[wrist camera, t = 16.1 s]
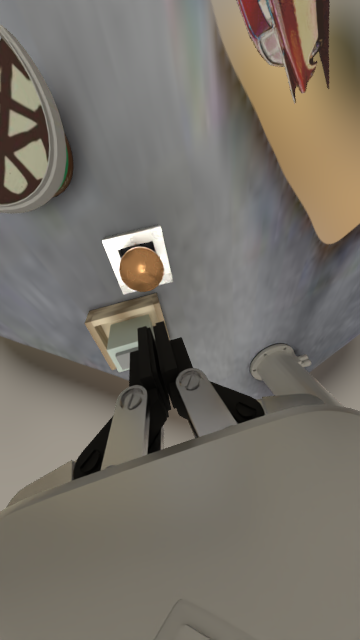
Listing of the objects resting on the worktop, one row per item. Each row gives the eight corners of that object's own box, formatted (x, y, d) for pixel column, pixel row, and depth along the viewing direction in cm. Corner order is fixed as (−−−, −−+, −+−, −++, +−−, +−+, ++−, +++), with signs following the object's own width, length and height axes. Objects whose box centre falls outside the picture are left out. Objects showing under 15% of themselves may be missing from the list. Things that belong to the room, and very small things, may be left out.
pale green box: (110, 324, 33) (105, 353, 27) (148, 314, 34) (152, 340, 27) (120, 345, 36) (118, 376, 30) (155, 335, 37) (161, 363, 30)
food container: (51, 232, 25) (12, 246, 17) (-3, 192, 22) (-82, 186, 14) (106, 152, 22) (92, 122, 14) (53, 93, 19) (-4, 10, 11)
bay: (156, 292, 33) (159, 302, 30) (169, 339, 39) (173, 351, 36) (89, 311, 32) (84, 323, 29) (113, 355, 38) (112, 370, 35)
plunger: (152, 235, 28) (158, 243, 22) (161, 271, 31) (168, 285, 25) (115, 244, 27) (112, 254, 22) (128, 280, 30) (128, 296, 25)
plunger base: (157, 224, 28) (160, 226, 25) (169, 275, 32) (172, 281, 30) (104, 237, 27) (101, 240, 24) (123, 287, 31) (123, 294, 29)
